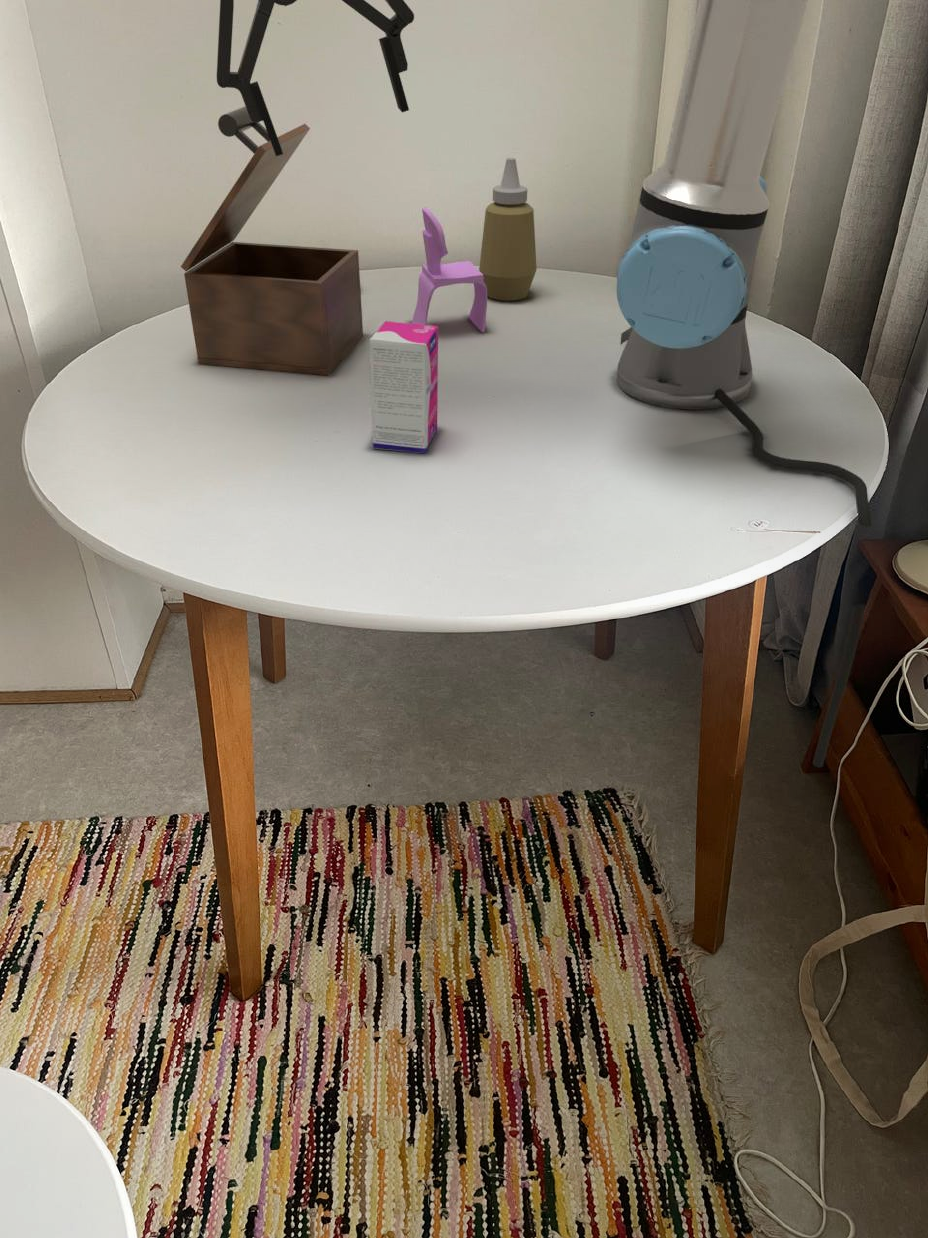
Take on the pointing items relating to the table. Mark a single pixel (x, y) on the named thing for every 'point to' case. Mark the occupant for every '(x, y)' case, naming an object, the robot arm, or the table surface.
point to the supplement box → (404, 386)
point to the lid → (244, 183)
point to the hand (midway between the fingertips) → (341, 130)
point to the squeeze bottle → (508, 239)
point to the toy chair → (446, 275)
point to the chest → (276, 307)
